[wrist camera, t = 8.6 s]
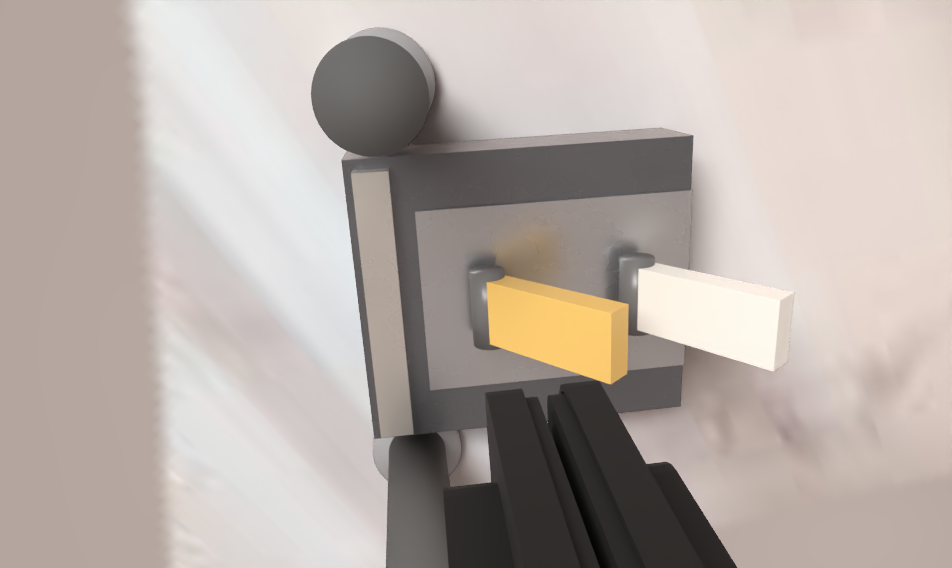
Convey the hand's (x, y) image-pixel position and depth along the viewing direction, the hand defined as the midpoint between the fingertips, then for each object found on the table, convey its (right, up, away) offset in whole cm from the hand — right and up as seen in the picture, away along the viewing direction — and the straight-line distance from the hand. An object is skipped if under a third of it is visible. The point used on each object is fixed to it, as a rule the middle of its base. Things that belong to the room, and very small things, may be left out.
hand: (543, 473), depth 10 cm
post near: (-6, +13, +22) cm, 26 cm away
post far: (-4, -6, +29) cm, 30 cm away
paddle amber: (0, +2, +21) cm, 21 cm away
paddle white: (+7, +2, +21) cm, 23 cm away
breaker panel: (+1, +4, +26) cm, 26 cm away
